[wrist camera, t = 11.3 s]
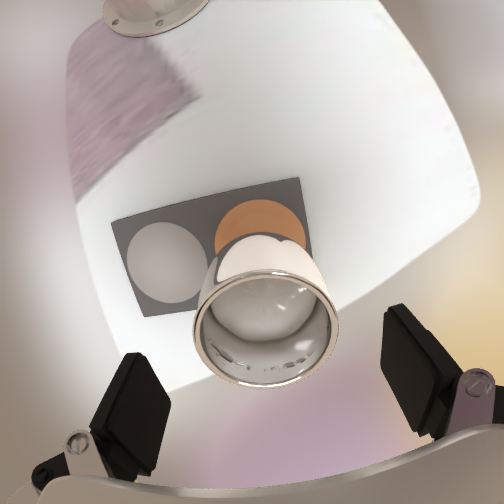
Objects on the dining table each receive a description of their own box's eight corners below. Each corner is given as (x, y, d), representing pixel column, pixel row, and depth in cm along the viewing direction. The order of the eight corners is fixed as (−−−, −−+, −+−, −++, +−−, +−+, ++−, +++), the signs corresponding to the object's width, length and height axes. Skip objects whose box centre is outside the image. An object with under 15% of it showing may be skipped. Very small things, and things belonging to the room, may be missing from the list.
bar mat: (113, 221, 26) (110, 223, 25) (298, 177, 25) (299, 177, 24) (145, 314, 29) (143, 317, 29) (315, 284, 28) (316, 287, 27)
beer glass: (222, 276, 27) (194, 389, 13) (221, 205, 25) (181, 263, 11) (293, 278, 27) (328, 390, 13) (298, 207, 25) (355, 267, 11)
